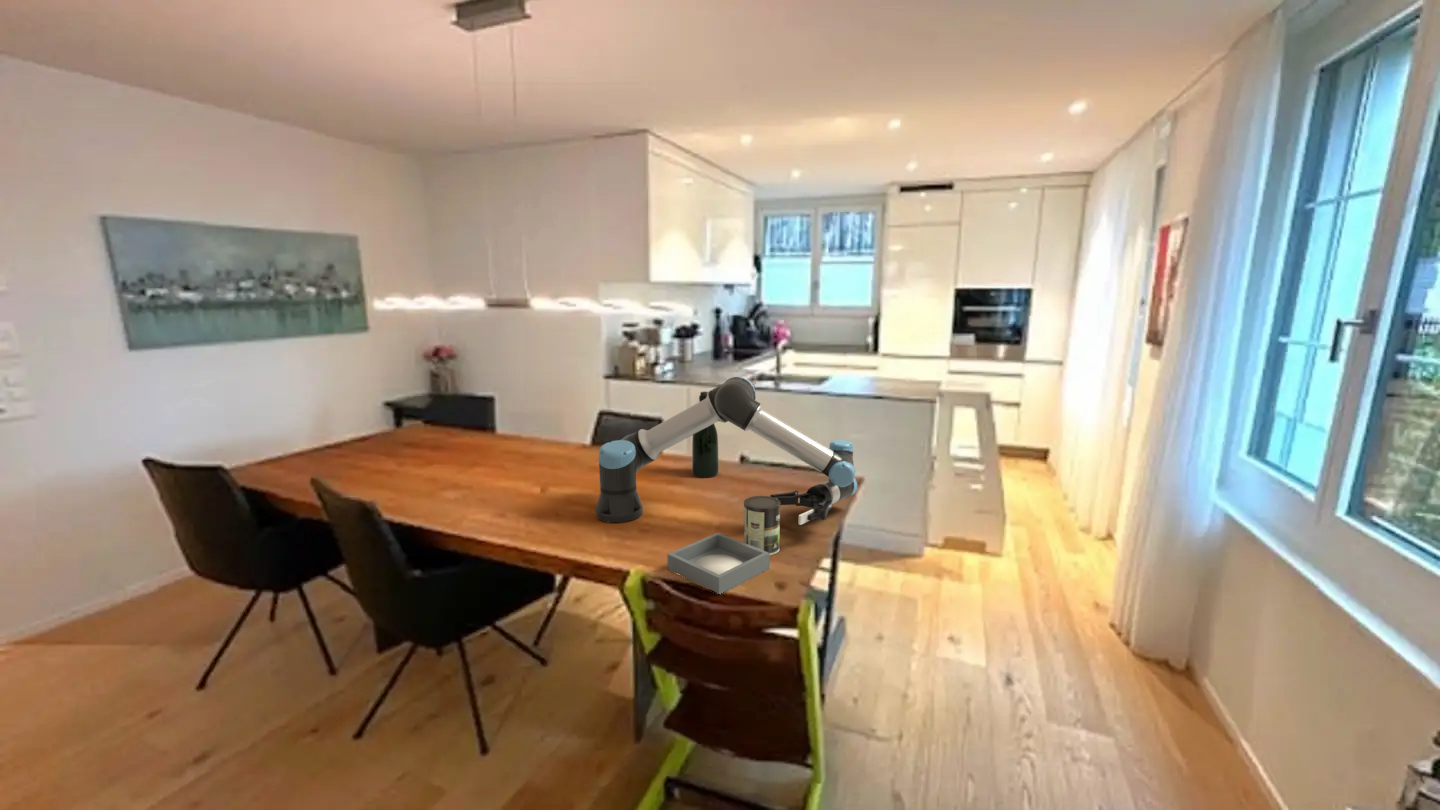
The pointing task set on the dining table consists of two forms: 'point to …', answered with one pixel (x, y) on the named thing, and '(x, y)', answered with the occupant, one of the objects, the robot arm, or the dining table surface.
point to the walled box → (718, 562)
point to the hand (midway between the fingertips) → (780, 514)
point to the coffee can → (762, 523)
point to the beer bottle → (705, 450)
